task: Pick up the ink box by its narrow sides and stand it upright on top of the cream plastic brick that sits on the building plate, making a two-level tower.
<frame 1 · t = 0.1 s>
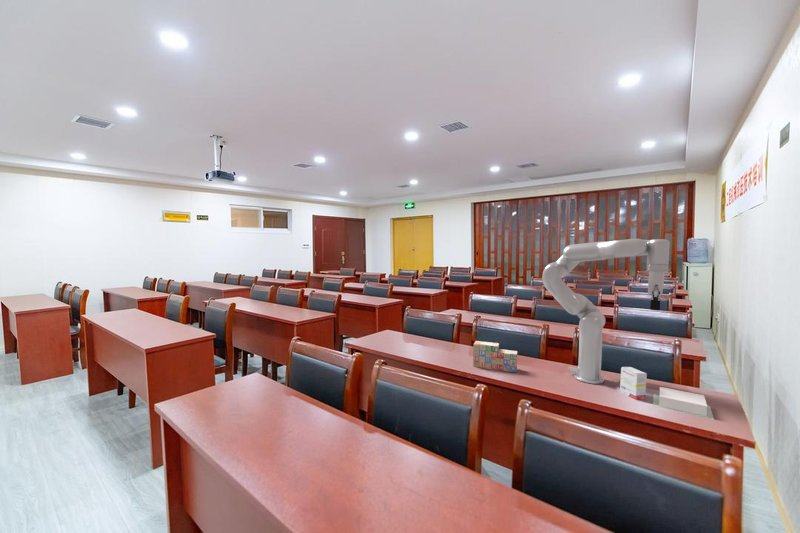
hand: (655, 308, 153), 37 cm above the table, tool pointing down, fingers open, 9 cm apart
ink box: (632, 398, 149), on the table
stack of blocks: (494, 368, 183), on the table
cream brick: (681, 405, 139), point 1 cm above the table, touching building plate
building plate: (681, 408, 139), on the table
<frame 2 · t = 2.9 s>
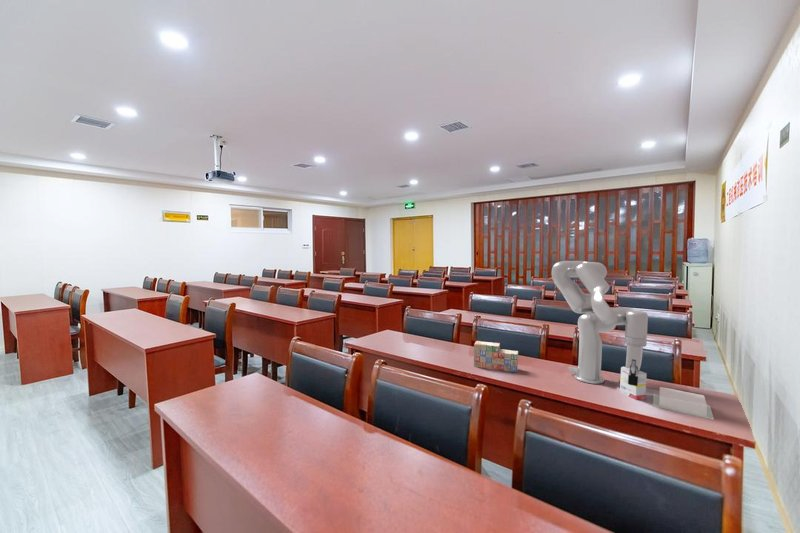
hand: (633, 381, 148), 7 cm above the table, tool pointing down, fingers open, 9 cm apart
ink box: (632, 398, 149), on the table, touching gripper
everything else where it was.
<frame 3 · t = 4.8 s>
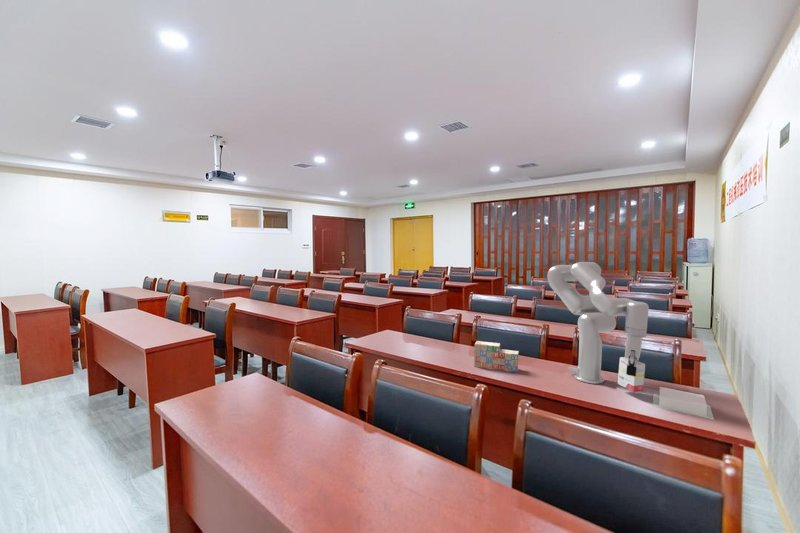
hand: (631, 371, 149), 11 cm above the table, tool pointing down, fingers closed on ink box, 9 cm apart
ink box: (630, 388, 150), point 4 cm above the table, touching gripper
everything else where it was.
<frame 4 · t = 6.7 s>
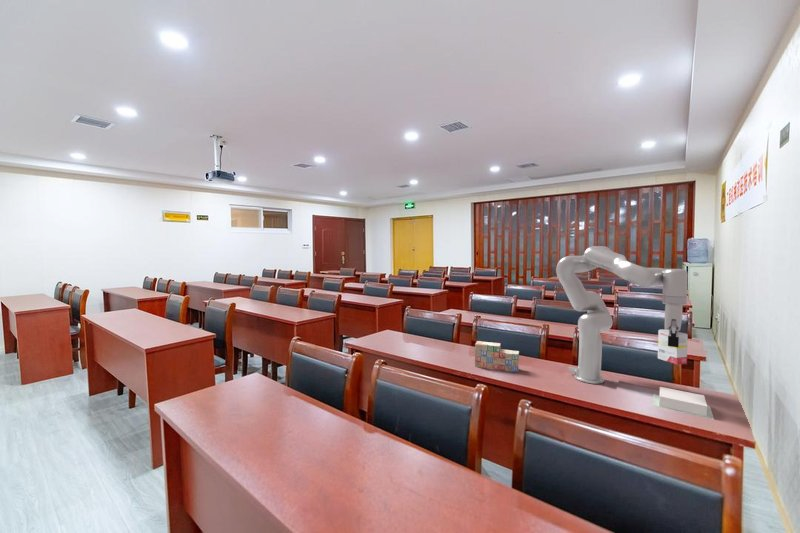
hand: (672, 344, 140), 25 cm above the table, tool pointing down, fingers closed on ink box, 9 cm apart
ink box: (671, 361, 140), point 18 cm above the table, touching gripper
everything else where it was.
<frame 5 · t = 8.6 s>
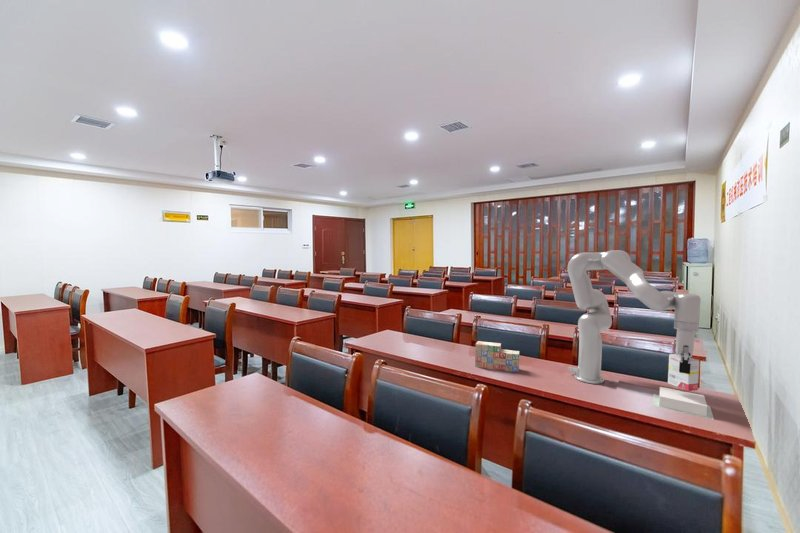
hand: (683, 369, 138), 15 cm above the table, tool pointing down, fingers closed on ink box, 9 cm apart
ink box: (682, 387, 139), point 8 cm above the table, touching gripper
when the fingers open (13 cm above the table, at t = 10.2 s): ink box drops 1 cm, resting on cream brick.
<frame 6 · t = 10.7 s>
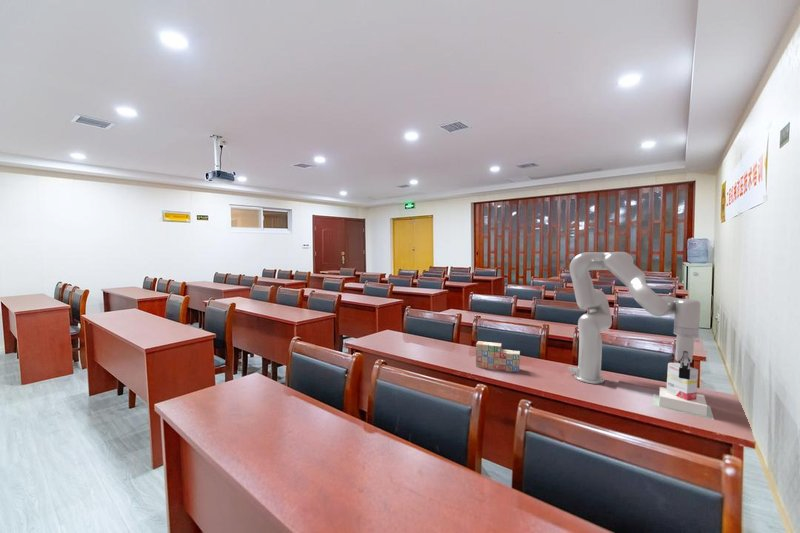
hand: (683, 374, 138), 13 cm above the table, tool pointing down, fingers open, 9 cm apart
ink box: (681, 396, 139), point 5 cm above the table, touching cream brick, gripper
cream brick: (681, 405, 139), point 1 cm above the table, touching building plate, ink box
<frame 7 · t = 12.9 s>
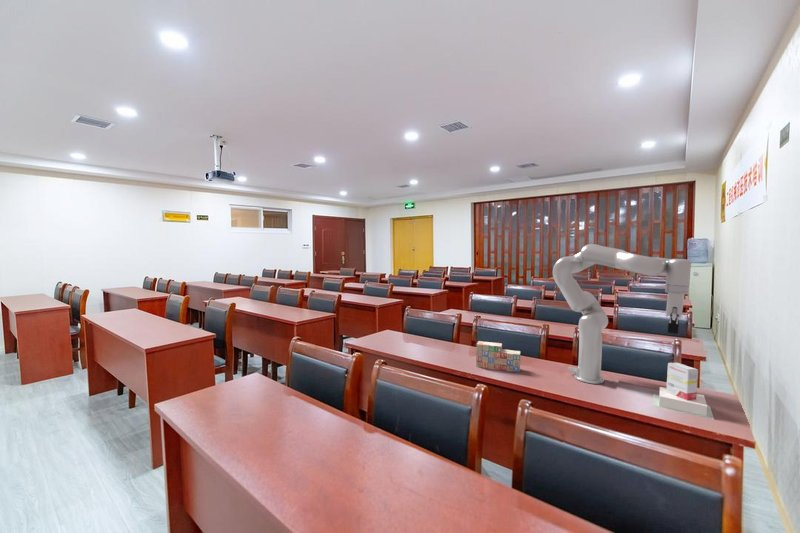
hand: (673, 330, 146), 29 cm above the table, tool pointing down, fingers open, 9 cm apart
ink box: (681, 395, 139), point 5 cm above the table, touching cream brick
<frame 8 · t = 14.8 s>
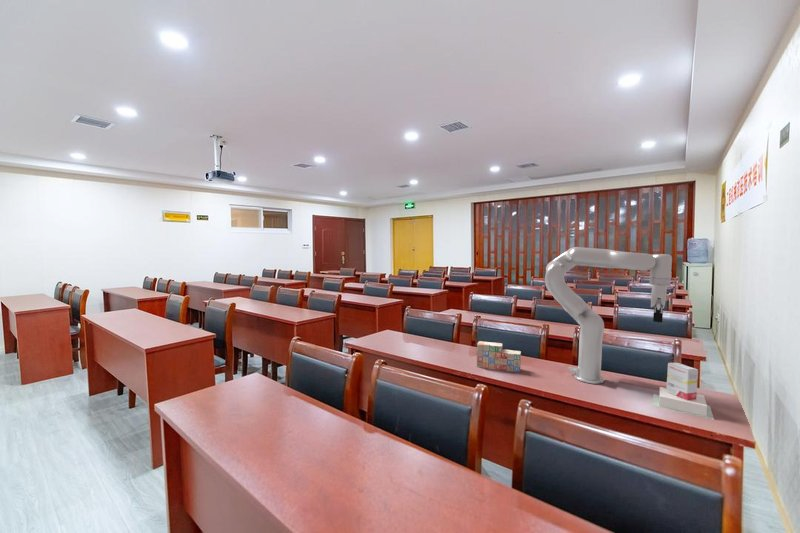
hand: (657, 320, 159), 30 cm above the table, tool pointing down, fingers open, 9 cm apart
at the end: ink box 0.4 cm off-centre on the cream brick, point 3.8 cm above the cream brick's base; ink box tilted 0°; the gripper is holding nothing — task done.
